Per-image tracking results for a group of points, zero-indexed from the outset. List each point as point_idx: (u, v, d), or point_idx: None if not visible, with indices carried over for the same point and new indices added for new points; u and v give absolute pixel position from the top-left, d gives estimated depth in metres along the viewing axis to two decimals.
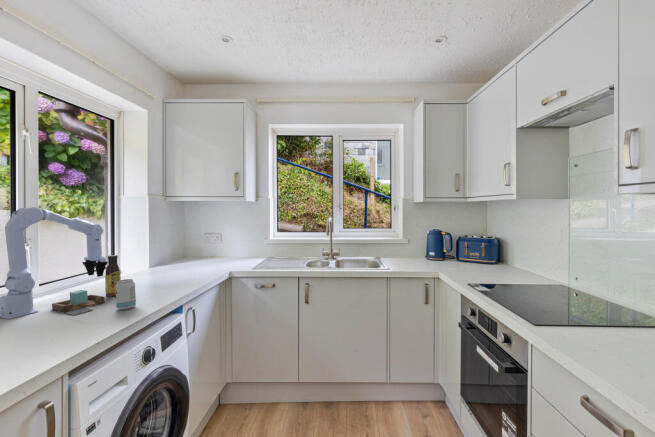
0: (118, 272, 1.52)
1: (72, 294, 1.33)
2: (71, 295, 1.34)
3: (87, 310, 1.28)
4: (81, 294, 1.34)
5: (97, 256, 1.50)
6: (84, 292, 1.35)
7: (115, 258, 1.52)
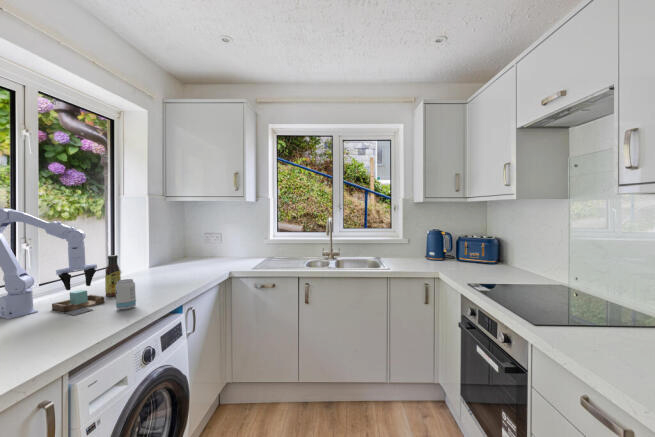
0: (118, 272, 1.52)
1: (72, 294, 1.33)
2: (71, 295, 1.34)
3: (87, 310, 1.28)
4: (81, 294, 1.34)
5: (69, 267, 1.32)
6: (84, 292, 1.35)
7: (115, 258, 1.52)
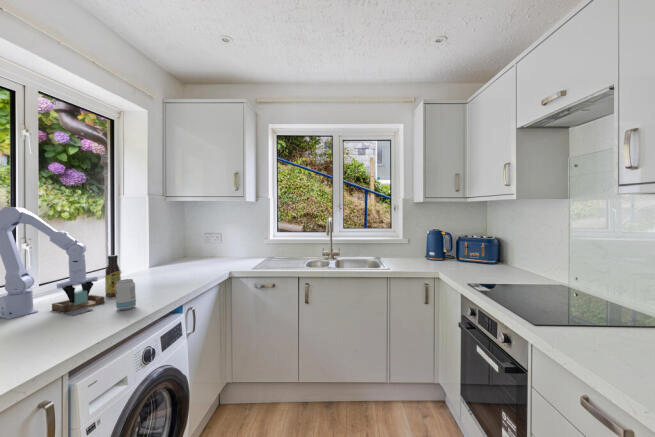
0: (118, 272, 1.52)
1: None
2: None
3: (87, 310, 1.28)
4: (81, 294, 1.34)
5: (69, 280, 1.33)
6: (84, 292, 1.35)
7: (115, 258, 1.52)
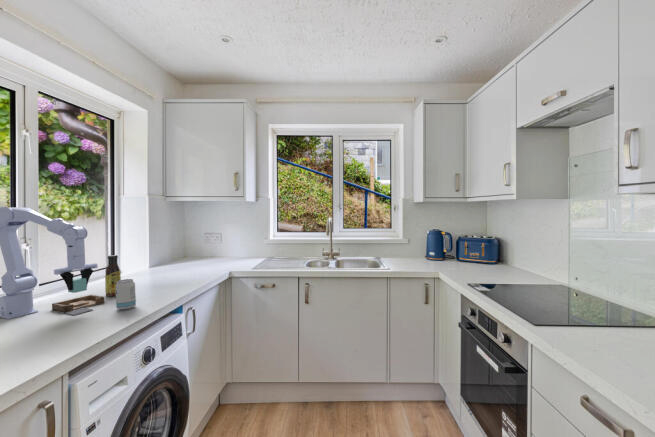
0: (118, 272, 1.52)
1: None
2: None
3: (87, 310, 1.28)
4: (80, 282, 1.26)
5: (68, 266, 1.24)
6: (83, 280, 1.27)
7: (115, 258, 1.52)
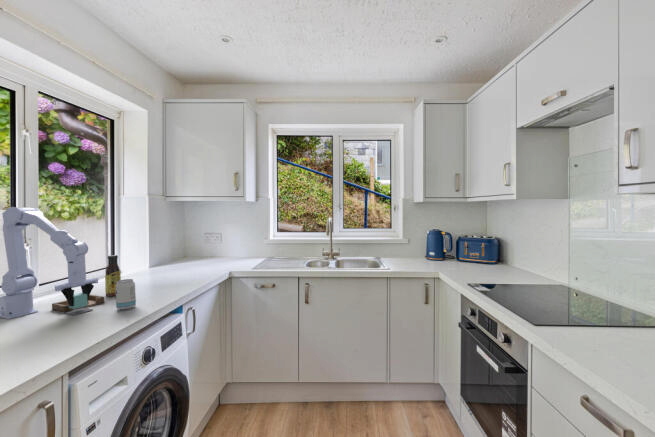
0: (118, 272, 1.52)
1: None
2: None
3: (87, 310, 1.28)
4: (81, 297, 1.26)
5: (68, 282, 1.25)
6: (84, 295, 1.27)
7: (115, 258, 1.52)
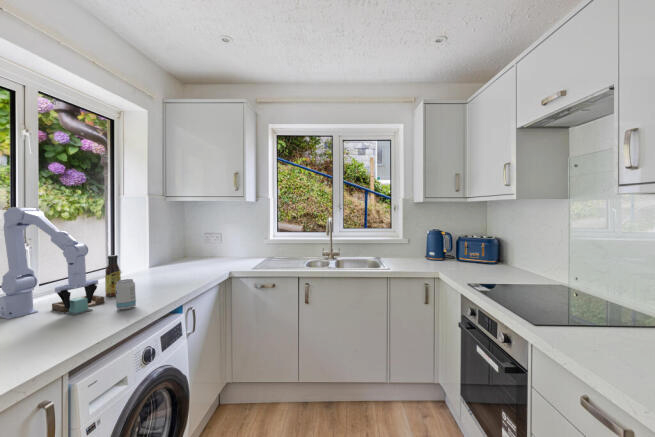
0: (118, 272, 1.52)
1: (71, 302, 1.25)
2: (70, 303, 1.26)
3: (87, 310, 1.28)
4: (81, 302, 1.26)
5: (68, 283, 1.25)
6: (84, 300, 1.28)
7: (115, 258, 1.52)
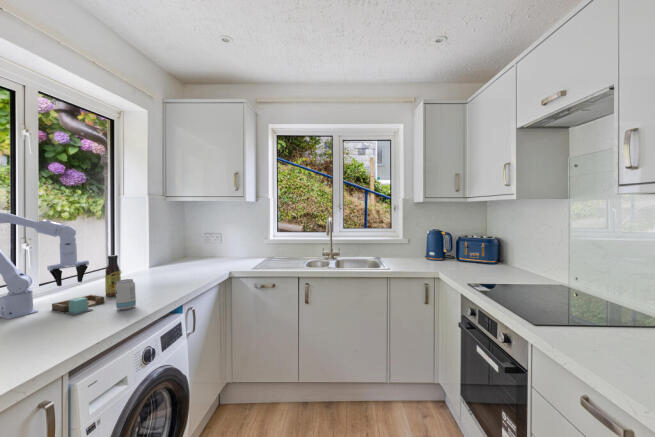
0: (118, 272, 1.52)
1: (71, 302, 1.25)
2: (70, 303, 1.26)
3: (87, 310, 1.28)
4: (81, 302, 1.26)
5: (60, 263, 1.33)
6: (84, 300, 1.28)
7: (115, 258, 1.52)
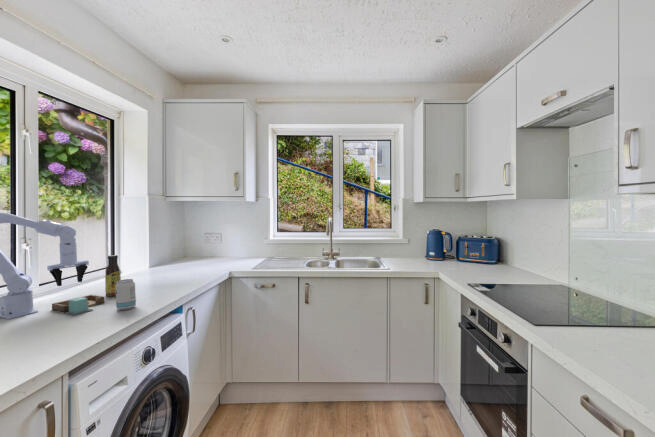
0: (118, 272, 1.52)
1: (71, 302, 1.25)
2: (70, 303, 1.26)
3: (87, 310, 1.28)
4: (81, 302, 1.26)
5: (60, 262, 1.33)
6: (84, 300, 1.28)
7: (115, 258, 1.52)
